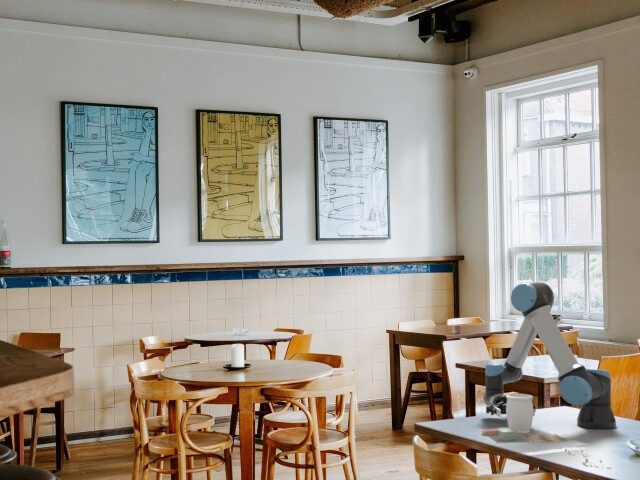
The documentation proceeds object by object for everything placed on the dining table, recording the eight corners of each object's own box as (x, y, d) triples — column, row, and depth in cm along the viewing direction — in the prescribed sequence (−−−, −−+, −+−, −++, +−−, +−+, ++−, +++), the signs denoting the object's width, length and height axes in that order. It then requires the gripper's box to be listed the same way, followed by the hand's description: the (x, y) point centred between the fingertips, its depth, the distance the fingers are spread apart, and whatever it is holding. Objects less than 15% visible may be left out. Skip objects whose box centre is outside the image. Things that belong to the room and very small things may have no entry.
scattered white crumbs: (585, 452, 290) (585, 448, 290) (611, 470, 265) (611, 465, 265) (565, 452, 290) (565, 448, 290) (589, 470, 265) (589, 465, 265)
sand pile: (556, 437, 313) (556, 434, 313) (567, 444, 301) (567, 440, 301) (522, 438, 312) (522, 435, 312) (533, 445, 300) (533, 441, 300)
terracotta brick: (497, 436, 316) (496, 429, 316) (500, 438, 313) (499, 430, 314) (482, 437, 315) (482, 429, 316) (485, 439, 312) (484, 431, 313)
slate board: (519, 438, 312) (519, 435, 312) (529, 445, 300) (529, 441, 300) (488, 439, 311) (488, 436, 311) (497, 446, 299) (497, 442, 299)
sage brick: (512, 437, 308) (512, 429, 308) (517, 438, 306) (517, 430, 306) (499, 438, 306) (499, 430, 306) (504, 440, 303) (504, 432, 303)
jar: (534, 437, 314) (533, 397, 315) (506, 436, 316) (506, 397, 317) (532, 431, 325) (532, 393, 325) (506, 430, 327) (505, 393, 327)
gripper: (530, 412, 344) (547, 421, 323) (472, 413, 342) (485, 423, 321) (530, 394, 344) (547, 402, 323) (471, 395, 343) (485, 404, 321)
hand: (516, 412), depth 322 cm, fingers open, 13 cm apart
